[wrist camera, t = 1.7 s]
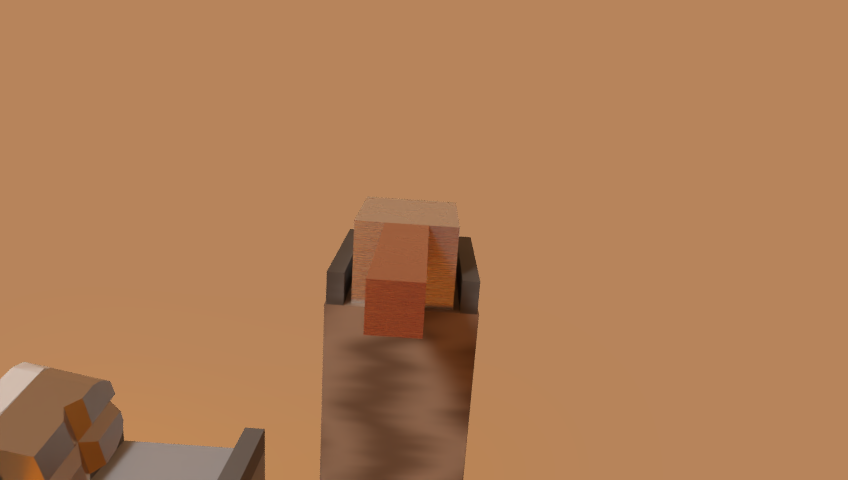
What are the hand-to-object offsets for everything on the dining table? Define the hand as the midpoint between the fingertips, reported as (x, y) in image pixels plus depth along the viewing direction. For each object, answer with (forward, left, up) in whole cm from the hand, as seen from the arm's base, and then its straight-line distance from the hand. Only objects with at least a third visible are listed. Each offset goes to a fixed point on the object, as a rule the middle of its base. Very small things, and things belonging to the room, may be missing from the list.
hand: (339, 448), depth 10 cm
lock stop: (0, -23, -7) cm, 24 cm away
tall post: (0, -29, -33) cm, 44 cm away
